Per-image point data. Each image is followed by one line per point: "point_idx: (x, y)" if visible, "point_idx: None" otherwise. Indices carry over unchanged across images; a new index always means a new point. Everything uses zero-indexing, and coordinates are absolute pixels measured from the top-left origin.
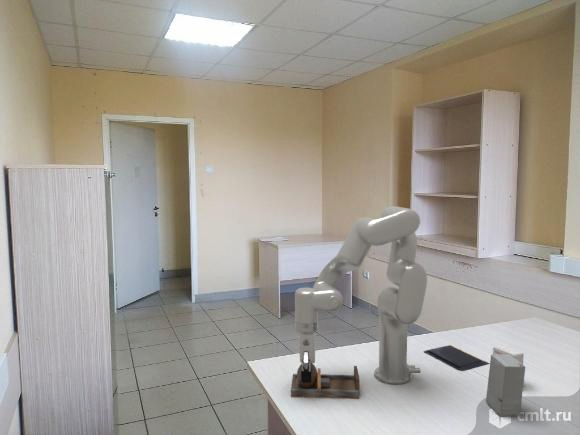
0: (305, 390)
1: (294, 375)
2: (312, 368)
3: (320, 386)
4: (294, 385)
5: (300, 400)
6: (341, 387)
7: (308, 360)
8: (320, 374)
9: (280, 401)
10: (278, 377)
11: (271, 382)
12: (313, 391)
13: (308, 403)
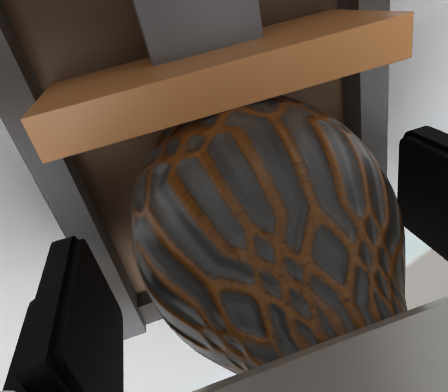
0: (385, 148)
1: (140, 319)
2: (369, 203)
3: (362, 12)
4: None
5: (398, 148)
6: None
7: (258, 362)
8: (236, 62)
9: (410, 251)
10: (126, 381)
11: (206, 379)
12: (383, 75)
13: (437, 80)
